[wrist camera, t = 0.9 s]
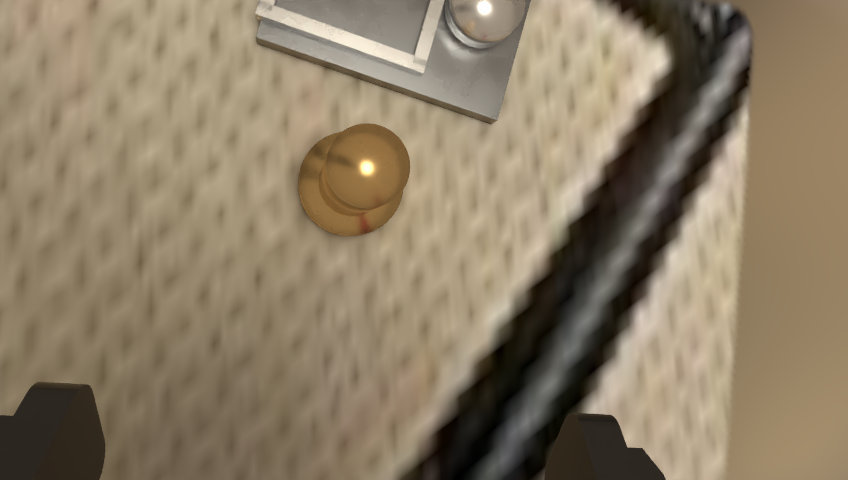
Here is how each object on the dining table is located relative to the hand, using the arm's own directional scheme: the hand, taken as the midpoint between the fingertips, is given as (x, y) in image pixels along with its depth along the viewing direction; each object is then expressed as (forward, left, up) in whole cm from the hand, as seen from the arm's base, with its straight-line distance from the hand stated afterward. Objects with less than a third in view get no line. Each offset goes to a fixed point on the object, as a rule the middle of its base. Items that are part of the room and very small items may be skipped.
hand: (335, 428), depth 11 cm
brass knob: (+1, +7, -27) cm, 28 cm away
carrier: (+1, +20, -27) cm, 34 cm away
